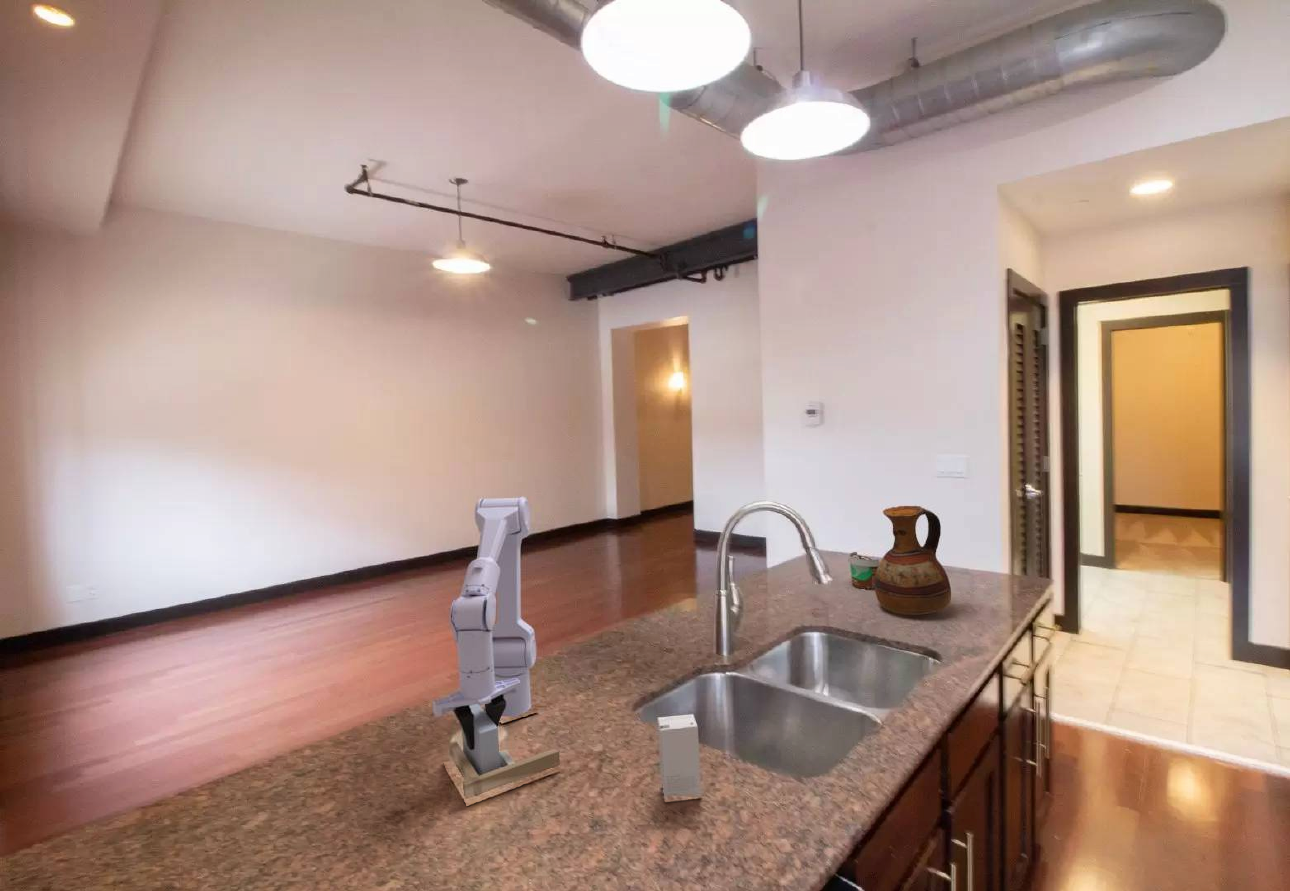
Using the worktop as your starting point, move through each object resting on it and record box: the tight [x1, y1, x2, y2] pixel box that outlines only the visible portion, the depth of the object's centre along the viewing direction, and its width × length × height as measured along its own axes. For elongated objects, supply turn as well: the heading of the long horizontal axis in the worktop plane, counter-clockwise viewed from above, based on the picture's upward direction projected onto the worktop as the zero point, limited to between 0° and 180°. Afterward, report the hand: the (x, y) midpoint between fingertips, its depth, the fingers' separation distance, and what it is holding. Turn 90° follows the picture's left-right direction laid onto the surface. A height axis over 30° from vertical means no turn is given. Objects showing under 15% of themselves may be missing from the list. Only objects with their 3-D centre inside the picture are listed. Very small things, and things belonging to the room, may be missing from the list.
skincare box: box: [656, 713, 702, 798], centre depth 99 cm, size 6×4×12 cm
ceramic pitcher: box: [874, 505, 952, 615], centre depth 178 cm, size 20×20×30 cm
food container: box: [847, 551, 880, 591], centre depth 201 cm, size 12×6×10 cm, turn 17°
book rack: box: [448, 740, 561, 799], centre depth 108 cm, size 14×16×4 cm
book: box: [461, 704, 500, 776], centre depth 107 cm, size 11×3×9 cm, turn 32°
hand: (481, 743), depth 106 cm, fingers closed on book, 3 cm apart
